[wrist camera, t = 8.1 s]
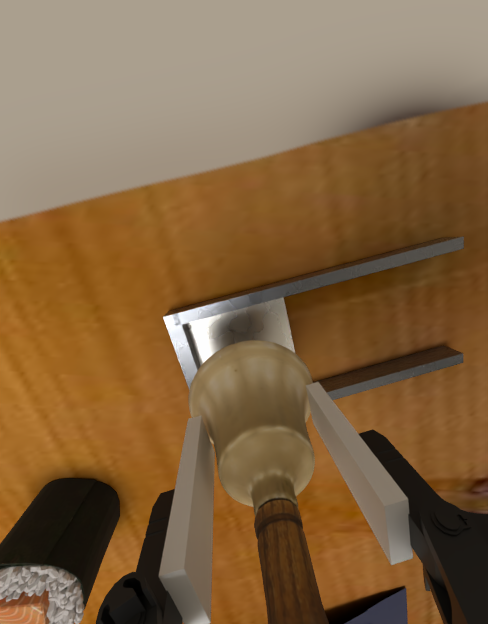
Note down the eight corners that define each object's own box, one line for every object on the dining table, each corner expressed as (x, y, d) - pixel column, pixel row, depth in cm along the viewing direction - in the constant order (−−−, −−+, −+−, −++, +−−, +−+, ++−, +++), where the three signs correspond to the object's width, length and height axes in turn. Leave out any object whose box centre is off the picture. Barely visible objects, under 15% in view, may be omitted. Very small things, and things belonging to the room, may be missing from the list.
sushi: (31, 478, 23) (-64, 591, 15) (119, 476, 24) (71, 580, 16) (42, 537, 25) (-38, 663, 17) (122, 533, 26) (81, 650, 18)
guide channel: (443, 353, 24) (463, 362, 22) (207, 421, 23) (206, 436, 21) (441, 238, 21) (463, 236, 19) (168, 311, 20) (163, 317, 18)
